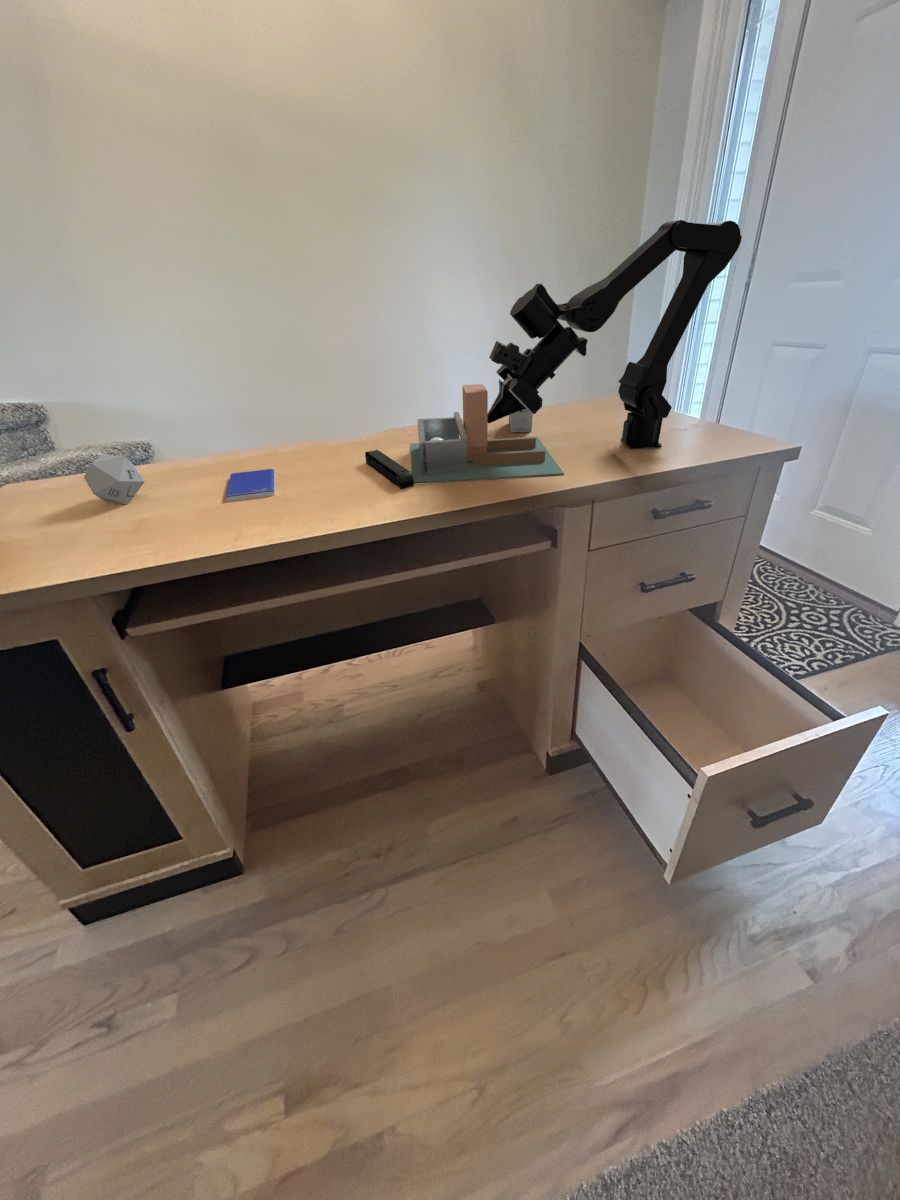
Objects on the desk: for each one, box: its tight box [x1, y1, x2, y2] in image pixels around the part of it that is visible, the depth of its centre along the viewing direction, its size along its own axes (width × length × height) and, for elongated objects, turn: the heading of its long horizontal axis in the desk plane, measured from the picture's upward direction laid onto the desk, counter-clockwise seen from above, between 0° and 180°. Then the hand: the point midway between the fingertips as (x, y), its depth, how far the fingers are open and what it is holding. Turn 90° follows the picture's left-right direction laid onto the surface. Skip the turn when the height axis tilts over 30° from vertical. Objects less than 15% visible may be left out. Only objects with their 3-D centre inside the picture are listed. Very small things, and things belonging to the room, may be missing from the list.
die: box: [83, 454, 145, 505], centre depth 93 cm, size 8×9×10 cm
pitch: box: [410, 435, 565, 485], centre depth 106 cm, size 28×24×2 cm
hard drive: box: [225, 468, 276, 503], centre depth 98 cm, size 2×8×12 cm
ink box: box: [508, 404, 534, 433], centre depth 122 cm, size 9×5×12 cm, turn 179°
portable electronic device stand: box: [364, 449, 415, 490], centre depth 100 cm, size 18×3×3 cm, turn 29°
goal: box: [416, 411, 467, 475], centre depth 104 cm, size 9×17×7 cm, turn 4°
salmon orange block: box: [461, 383, 489, 461], centre depth 103 cm, size 4×7×13 cm, turn 4°
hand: (486, 421), depth 103 cm, fingers closed
